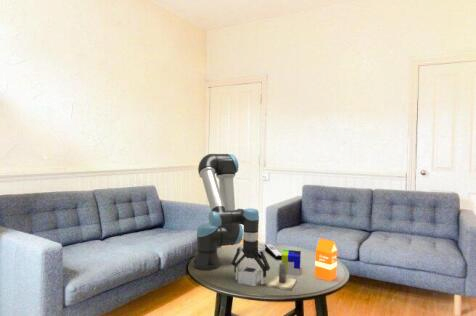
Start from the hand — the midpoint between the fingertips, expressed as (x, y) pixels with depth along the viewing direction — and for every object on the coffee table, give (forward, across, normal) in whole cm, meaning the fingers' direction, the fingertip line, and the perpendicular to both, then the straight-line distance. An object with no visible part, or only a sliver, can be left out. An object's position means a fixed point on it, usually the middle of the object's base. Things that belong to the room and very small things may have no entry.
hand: (249, 281), depth 170 cm
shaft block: (0, +16, +4) cm, 16 cm away
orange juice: (0, +35, +23) cm, 42 cm away
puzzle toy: (0, +16, +24) cm, 29 cm away
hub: (0, 0, 0) cm, 0 cm away
